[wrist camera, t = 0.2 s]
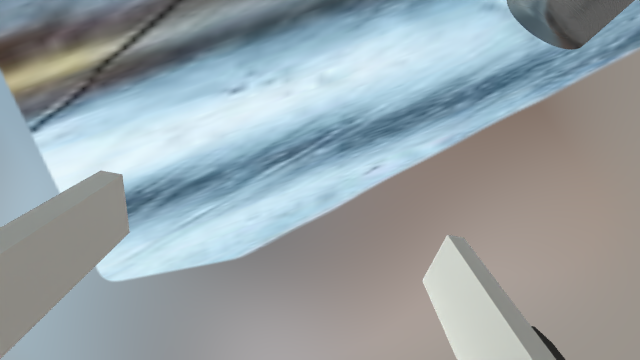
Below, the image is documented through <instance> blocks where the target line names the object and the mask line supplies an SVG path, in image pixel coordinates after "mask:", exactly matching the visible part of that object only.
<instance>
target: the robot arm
mask: <svg viewBox="0 0 640 360" xmlns="http://www.w3.org/2000/svg"><path fill="white" fill-rule="evenodd" d="M128 233H129V224H128V216H127V208H126V200H125V192H124V184H123V176H122V174H116V173H111V172H105V171H99V172H97V173H96V174H94V175H92V176H90V177H88V178H87V179H85V180H83V181H81V182H80V183H78V184H76V185H74V186H73V187H71V188H69V189H67V190H66V191H64V192H62V193H60V194H59V195H57V196H55V197H53V198H51V199H50V200H48V201H46V202H44V203H43V204H41V205H39V206H38V207H36V208H34V209H32V210H30V211H29V212H27V213H25V214H23V215H22V216H20V217H18V218H16V219H15V220H13V221H11V222H9V223H7V224H6V225H4V226H2V227H0V359H1V358H2V357H3V356H4V355H5V354H6V353H7V352H8V351H9V350H10V349H11V348H12V347H13V346H14V345H15V344H16V343H17V342H18V341H19V340H20V339H21V338H22V337H23V336H24V335H25V334H26V333H27V332H28V331H30V330H31V329H32V327H34V326H35V325H36V323H38V322H39V321H40V320H41V319H42V318H43V317H44V316H45V315H46V314H47V313H48V312H49V311H50V310H51V309H52V308H53V307H54V306H55V305H56V304H57V303H58V302H59V301H60V300H61V299H62V298H63V297H64V296H65V295H66V294H67V293H68V292H69V291H70V290H71V289H72V288H73V287H74V286H75V285H76V284H77V283H78V282H79V281H81V280H82V278H84V277H85V276H86V275H87V274H88V273H89V272H90V271H91V270H92V269H93V268H94V267H95V266H96V265H97V264H98V263H99V262H100V261H101V260H102V259H103V258H104V257H105V256H106V255H107V254H108V253H109V252H110V251H111V250H112V249H113V248H114V247H115V246H116V245H117V244H118V243H119V242H120V241H121V240H122V239H123V238H124V237H125V236H126V235H127V234H128ZM423 283H424V286H425V288H426V290H427V292H428V295H429V297H430V299H431V302H432V304H433V306H434V308H435V311H436V313H437V315H438V317H439V320H440V322H441V324H442V326H443V329H444V331H445V333H446V336H447V338H448V340H449V342H450V344H451V347H452V349H453V351H454V354H455V356H456V358H457V360H565V359H564V357H563V356H562V355H561V354H560V352H559V351H558V350H557V348H556V347H555V346H554V345H553V343H552V342H551V341H549V340H548V339H547V338H546V337H545V336H544V335H543V334H542V333H541V332H540V331H538V329H536V328H535V327H533V326H530V324H529V323H528V322H527V320H526V319H525V318H524V316H523V315H522V314H521V312H520V311H519V310H518V308H517V307H516V306H515V304H514V303H513V302H512V301H511V299H510V298H509V297H508V295H507V294H506V293H505V291H504V290H503V289H502V287H501V286H500V285H499V283H498V282H497V281H496V279H495V278H494V277H493V275H492V274H491V273H490V272H489V270H488V269H487V268H486V266H485V265H484V264H483V262H482V261H481V260H480V258H479V257H478V256H477V255H476V253H475V252H474V251H473V249H472V248H471V246H470V245H469V244H468V243H467V241H466V240H465V238H462V237H457V236H451V235H447V236H446V238H445V240H444V242H443V244H442V245H441V247H440V249H439V251H438V253H437V255H436V256H435V258H434V260H433V262H432V264H431V266H430V267H429V269H428V271H427V273H426V275H425V277H424V278H423Z"/></svg>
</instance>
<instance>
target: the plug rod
mask: <svg viewBox="0 0 640 360" xmlns="http://www.w3.org/2000/svg"><path fill="white" fill-rule="evenodd" d="M633 1H634V0H507V4H508V7H509V9H510V11H511V13H512V14H513V16H514V17H515V18H516V20H517V21H518V22H519V23H520V24H521V25H522V26H523V27H524V28H525V29H527V30H528V31H529V32H530V33H532V34H533V35H534V36H536V37H538V38H539V39H541V40H543V41H544V42H546V43H549V44H551V45H553V46H556V47H559V48H563V49H578V48H580V47H582V46H583V45H584V44H585V43H586V42H588V41H589V40H590V39H591V38H592V37H593V36H594V35H596V34H597V33H598V32H599V31H600V30H601V29H602V28H603V27H605V26H606V25H607V24H608V23H609V22H610V21H611V20H613V19H614V18H615V17H616V16H617V15H618V14H619V13H621V12H622V11H623V10H624V9H625V8H626V7H627V6H629V5H630V4H631V3H632V2H633Z"/></svg>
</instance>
